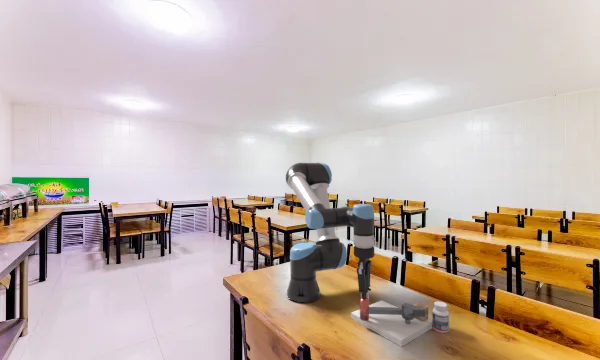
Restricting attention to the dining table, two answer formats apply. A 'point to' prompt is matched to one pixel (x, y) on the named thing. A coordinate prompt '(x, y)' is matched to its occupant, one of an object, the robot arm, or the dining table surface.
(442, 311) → the pill bottle
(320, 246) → the robot arm
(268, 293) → the dining table surface
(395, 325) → the base
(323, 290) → the dining table surface
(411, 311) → the lever
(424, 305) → the walnut block
